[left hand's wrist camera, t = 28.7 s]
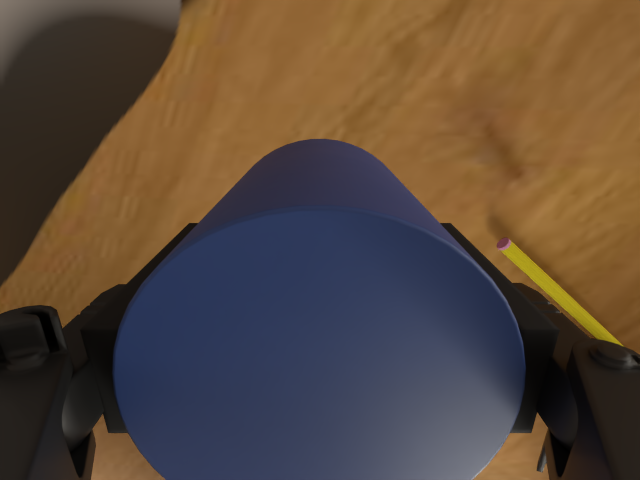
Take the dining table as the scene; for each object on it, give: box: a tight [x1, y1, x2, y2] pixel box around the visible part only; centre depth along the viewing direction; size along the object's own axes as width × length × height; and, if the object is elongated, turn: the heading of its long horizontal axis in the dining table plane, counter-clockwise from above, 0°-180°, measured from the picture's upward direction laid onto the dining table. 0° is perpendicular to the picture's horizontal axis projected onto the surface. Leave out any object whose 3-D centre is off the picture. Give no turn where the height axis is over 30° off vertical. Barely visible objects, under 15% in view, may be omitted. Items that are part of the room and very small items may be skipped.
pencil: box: [497, 238, 623, 346], centre depth 29 cm, size 16×1×1 cm, turn 50°
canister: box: [112, 139, 526, 480], centre depth 12 cm, size 8×8×10 cm
